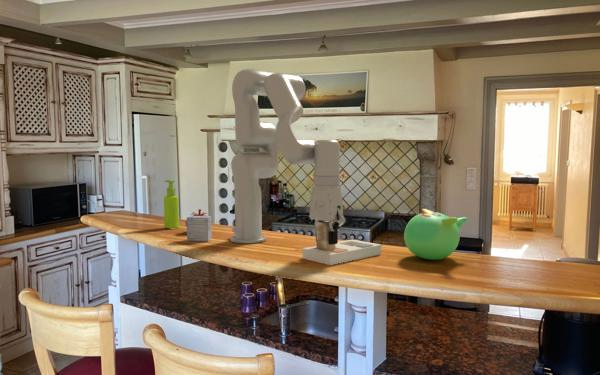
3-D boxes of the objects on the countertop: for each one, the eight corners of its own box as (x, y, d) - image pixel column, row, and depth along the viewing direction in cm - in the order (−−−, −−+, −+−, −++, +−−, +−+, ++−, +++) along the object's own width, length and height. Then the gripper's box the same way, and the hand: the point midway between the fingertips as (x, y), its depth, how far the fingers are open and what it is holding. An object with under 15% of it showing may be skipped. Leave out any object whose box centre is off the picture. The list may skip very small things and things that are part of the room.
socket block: (302, 258, 143) (302, 247, 143) (352, 248, 158) (352, 238, 157) (330, 265, 134) (330, 253, 134) (381, 254, 148) (381, 243, 148)
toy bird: (412, 250, 154) (413, 205, 153) (467, 255, 146) (468, 208, 145) (396, 261, 138) (397, 211, 137) (457, 268, 131) (458, 215, 129)
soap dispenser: (173, 226, 205) (172, 179, 203) (181, 228, 200) (180, 180, 198) (160, 227, 201) (159, 180, 199) (169, 229, 196) (167, 180, 194)
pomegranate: (183, 231, 191) (182, 208, 190) (207, 229, 195) (207, 207, 195) (189, 235, 182) (188, 211, 181) (214, 233, 186) (214, 209, 186)
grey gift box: (211, 239, 174) (211, 215, 173) (208, 241, 169) (208, 217, 169) (190, 239, 175) (190, 215, 174) (186, 241, 170) (186, 217, 170)
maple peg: (316, 258, 144) (316, 222, 143) (326, 256, 146) (326, 220, 145) (325, 260, 141) (325, 223, 140) (335, 258, 143) (335, 222, 142)
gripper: (298, 181, 145) (298, 240, 147) (338, 183, 133) (338, 248, 134) (316, 180, 150) (316, 237, 152) (356, 182, 137) (356, 245, 139)
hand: (326, 242), depth 143 cm, fingers open, 4 cm apart
